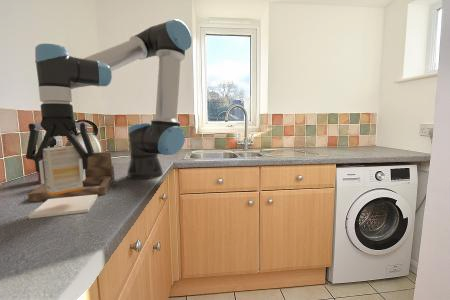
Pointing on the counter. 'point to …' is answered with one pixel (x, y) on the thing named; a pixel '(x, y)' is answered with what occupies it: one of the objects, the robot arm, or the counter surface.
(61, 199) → the off-white pad
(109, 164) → the walnut case
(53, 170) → the supplement box
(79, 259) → the counter surface
